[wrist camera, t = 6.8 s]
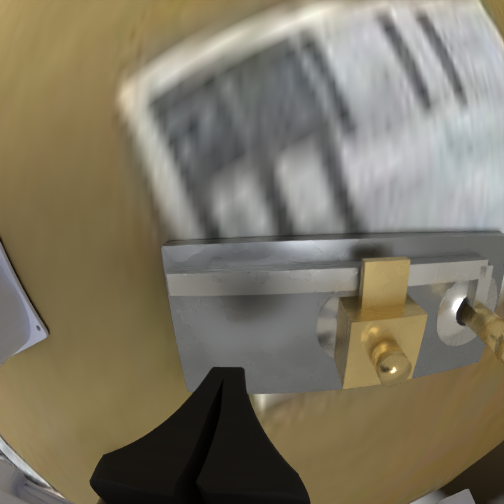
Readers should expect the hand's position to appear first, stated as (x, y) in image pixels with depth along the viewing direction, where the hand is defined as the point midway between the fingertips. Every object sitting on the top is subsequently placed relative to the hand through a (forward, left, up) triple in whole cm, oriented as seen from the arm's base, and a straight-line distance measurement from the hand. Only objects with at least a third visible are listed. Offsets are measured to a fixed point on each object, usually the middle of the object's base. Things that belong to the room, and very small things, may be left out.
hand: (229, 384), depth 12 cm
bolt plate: (+3, +7, -6) cm, 9 cm away
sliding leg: (+2, +7, -4) cm, 9 cm away
